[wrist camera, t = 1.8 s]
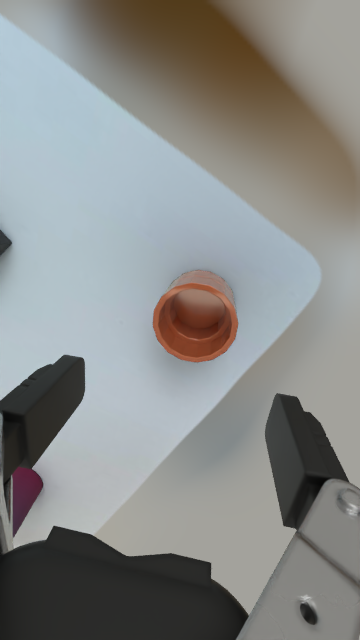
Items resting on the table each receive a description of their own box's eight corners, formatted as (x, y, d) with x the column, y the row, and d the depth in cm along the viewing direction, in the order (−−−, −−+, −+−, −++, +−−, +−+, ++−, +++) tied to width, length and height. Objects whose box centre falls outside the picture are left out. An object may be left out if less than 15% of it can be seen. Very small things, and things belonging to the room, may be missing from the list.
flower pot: (207, 254, 21) (203, 265, 17) (247, 310, 23) (254, 334, 18) (153, 295, 23) (136, 315, 19) (193, 345, 25) (186, 375, 20)
